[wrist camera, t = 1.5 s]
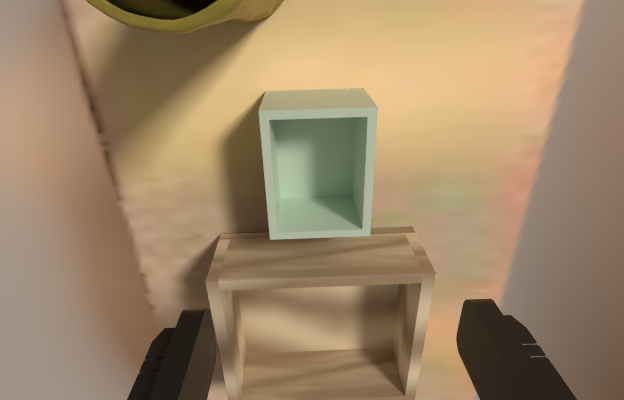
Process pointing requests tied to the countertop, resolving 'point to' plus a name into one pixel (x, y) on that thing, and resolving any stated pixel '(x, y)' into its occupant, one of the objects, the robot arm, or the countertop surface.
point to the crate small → (318, 162)
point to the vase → (184, 13)
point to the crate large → (321, 315)
